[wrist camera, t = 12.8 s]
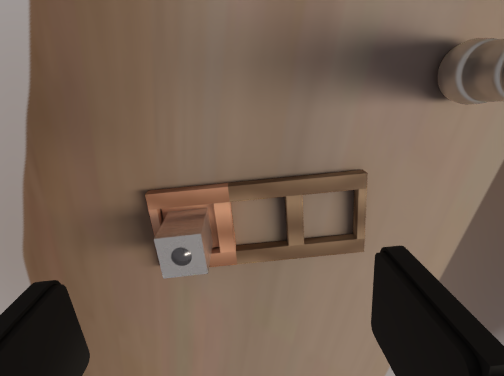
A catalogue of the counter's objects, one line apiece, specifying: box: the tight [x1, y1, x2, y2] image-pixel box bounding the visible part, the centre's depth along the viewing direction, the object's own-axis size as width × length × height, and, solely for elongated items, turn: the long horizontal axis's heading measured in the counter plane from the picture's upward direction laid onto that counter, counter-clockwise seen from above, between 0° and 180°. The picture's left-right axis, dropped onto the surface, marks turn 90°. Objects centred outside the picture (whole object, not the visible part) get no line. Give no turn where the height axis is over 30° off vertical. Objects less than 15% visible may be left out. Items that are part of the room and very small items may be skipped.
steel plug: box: [154, 208, 213, 278], centre depth 36 cm, size 5×5×7 cm
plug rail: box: [145, 170, 367, 267], centre depth 39 cm, size 11×27×2 cm, turn 95°
